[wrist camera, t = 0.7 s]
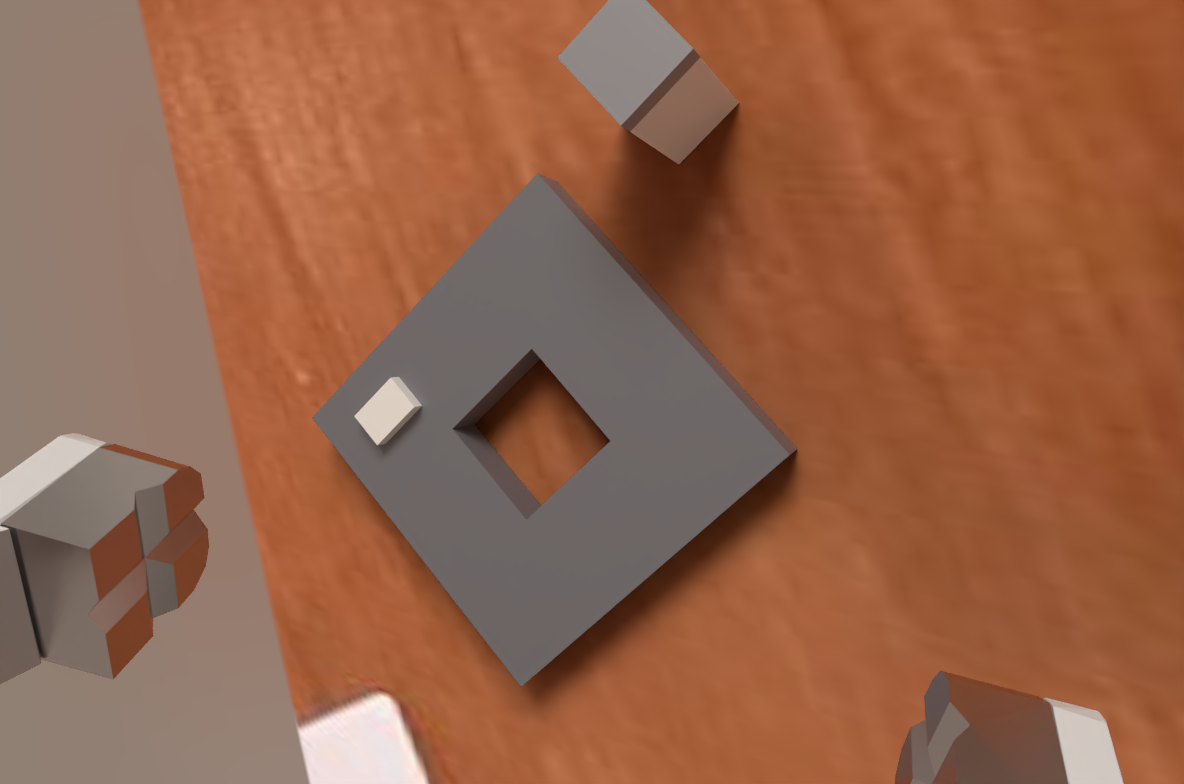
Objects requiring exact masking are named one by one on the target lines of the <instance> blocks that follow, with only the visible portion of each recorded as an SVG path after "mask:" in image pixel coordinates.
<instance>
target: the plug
mask: <svg viewBox="0 0 1184 784" xmlns="http://www.w3.org/2000/svg"><path fill="white" fill-rule="evenodd" d="M558 59H559V60H560V61H561V62H562V63H563V64H564V65H565V66H566V67H567V68H568V69H569V71H570V72H571V73H572V74H573V75H574V76H575V77H576V78H577V79H578V80H579V81H580V82H581V83H582V85H583V86H584V87H585V88H586V89H587V90H588V91H589V92H590V93H591V94H592V95H593V96H594V97H595V98H596V100H597V101H598V102H599V103H600V104H601V105H602V106H603V107H604V108H605V109H606V110H607V111H608V112H609V113H610V115H611V116H612V117H613V118H614V119H615V120H616V121H617V122H618V123H619V124H620V125H621V126H622V127H624V128H625V129H627V130H628V131H629V132H631V133H632V134H634V135H635V136H637V137H638V138H640V139H641V140H643V141H644V142H646V143H647V144H649V145H650V146H652V147H653V148H655V149H656V150H658V151H659V152H661V153H662V154H664V155H665V156H667V157H668V158H670V159H671V160H673V161H674V162H676V163H677V164H680V163H681V162H682V161H683V160H684V159H685V158H686V157H687V156H688V155H689V154H690V153H691V152H692V151H693V150H694V149H695V148H696V147H697V146H698V145H699V144H700V142H701V141H702V140H703V139H704V138H705V137H706V136H707V135H708V134H709V133H710V132H711V131H712V130H713V129H714V128H715V127H716V126H717V125H718V124H719V123H720V122H721V121H722V120H723V119H724V118H725V117H726V116H727V115H728V114H729V113H730V112H731V111H732V110H733V109H734V108H735V107H736V106H737V105H738V104H739V102H738V101H737V100H736V99H735V97H734V96H733V95H732V94H731V93H730V91H729V90H728V89H727V88H726V87H725V86H724V84H723V83H722V82H721V81H720V80H719V78H718V77H717V76H716V75H715V74H714V73H713V71H712V70H711V69H710V68H709V67H708V66H707V64H706V63H705V62H704V61H703V60H702V58H701V57H700V56H699V55H698V54H697V53H696V51H695V50H694V49H693V48H692V47H691V46H690V45H689V44H688V43H687V42H686V41H685V40H684V39H683V38H682V37H681V36H680V35H679V34H678V33H677V32H676V31H675V29H674V28H673V27H672V26H671V25H670V24H669V23H668V22H667V21H666V20H665V19H664V18H663V17H662V16H661V15H660V14H659V13H658V12H657V11H656V10H655V9H654V8H653V7H652V6H651V5H650V4H649V3H648V2H647V1H646V0H608V1H607V3H606V4H605V5H604V6H603V7H602V8H601V9H600V10H599V12H598V13H597V14H596V15H595V16H594V17H593V18H592V19H591V21H590V22H589V23H588V24H587V25H586V26H585V27H584V28H583V30H582V31H581V32H580V33H579V34H578V35H577V36H576V37H575V39H574V40H573V41H572V42H571V43H570V44H569V45H568V46H567V48H566V49H565V50H564V51H563V52H562V53H561V54H560V56H559V57H558Z"/></svg>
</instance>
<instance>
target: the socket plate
mask: <svg viewBox="0 0 1184 784" xmlns="http://www.w3.org/2000/svg"><path fill="white" fill-rule="evenodd" d="M540 359H541V360H542V361H543V362H544V364H545V365H546V366H547V367H548V368H549V369H550V371H551V372H552V373H553V374H554V375H555V377H556V378H557V379H558V380H559V381H560V382H561V384H562V385H563V386H564V387H565V388H566V389H567V391H568V392H569V393H570V394H571V395H572V396H573V398H574V399H575V400H576V401H577V402H578V404H579V405H580V406H581V407H582V408H583V409H584V411H585V412H586V413H587V414H588V415H589V416H590V418H591V419H592V420H593V421H594V422H595V423H596V425H597V426H598V427H599V428H600V429H601V431H602V432H603V433H604V434H605V435H606V436H607V438H608V439H609V440H610V442H609V443H608V444H607V445H606V446H605V447H604V448H602V449H601V450H600V451H599V452H598V453H597V454H596V455H595V456H594V457H593V458H592V459H591V460H590V461H589V462H588V463H586V464H585V465H584V466H583V467H582V468H581V469H580V470H579V471H578V472H577V473H576V474H575V475H574V476H573V477H571V478H570V479H569V480H568V481H567V482H566V483H565V484H564V485H563V486H562V487H561V488H560V489H559V490H558V491H557V492H555V493H554V494H553V495H552V496H551V497H550V498H549V499H548V500H547V501H546V502H545V503H544V504H543V505H542V506H541V505H540V504H539V503H538V501H537V500H536V499H535V498H534V496H533V495H532V494H531V493H530V492H529V490H528V489H527V488H526V487H525V485H524V484H523V483H522V482H521V481H520V479H519V478H518V477H517V476H516V474H515V473H514V472H513V471H512V470H511V468H510V467H509V466H508V465H507V463H506V462H505V461H504V460H503V459H502V457H501V456H500V455H499V454H498V452H497V451H496V450H495V449H494V448H493V446H492V445H491V444H490V443H489V441H488V440H487V439H486V438H485V437H484V435H483V434H482V433H481V432H480V430H479V429H478V428H477V427H476V426H475V424H476V423H477V422H478V421H479V420H480V419H481V418H482V417H483V416H484V415H485V414H486V413H487V412H488V411H489V410H490V409H491V408H492V407H493V406H494V405H495V404H496V403H497V402H498V401H499V400H500V399H501V398H502V397H503V396H504V395H505V394H506V393H507V392H508V391H509V390H510V389H511V388H512V387H513V386H514V385H515V384H516V383H517V382H518V381H519V380H520V379H521V378H522V377H523V376H524V375H525V374H526V373H527V372H528V371H529V370H530V369H531V368H532V367H533V366H534V365H535V364H536V363H537V362H538V361H539V360H540ZM312 419H313V420H314V421H315V422H316V424H317V425H318V426H319V428H320V429H321V430H322V431H323V433H324V434H325V435H326V437H327V438H328V439H329V440H330V442H331V443H332V444H333V446H334V447H335V448H336V449H337V451H338V452H339V453H340V455H341V456H342V457H343V458H344V460H345V461H346V462H347V464H348V465H349V466H350V467H351V469H352V470H353V471H354V473H355V474H356V475H357V477H358V478H359V479H360V480H361V482H362V483H363V484H364V486H365V487H366V488H367V489H368V491H369V492H370V493H371V495H372V496H373V497H374V498H375V500H376V501H377V502H378V504H379V505H380V506H381V507H382V509H383V510H384V511H385V513H386V514H387V515H388V516H389V518H390V519H391V520H392V522H393V523H394V524H395V525H396V527H397V528H398V529H399V531H400V532H401V533H402V534H403V536H404V537H405V538H406V540H407V541H408V542H409V543H410V545H411V546H412V547H413V549H414V550H415V551H416V552H417V554H418V555H419V556H420V558H421V559H422V560H423V561H424V563H425V564H426V565H427V567H428V568H429V569H430V571H431V572H432V573H433V574H434V576H435V577H436V578H437V580H438V581H439V582H440V583H441V585H442V586H443V587H444V589H445V590H446V591H447V592H448V594H449V595H450V596H451V598H452V599H453V600H454V601H455V603H456V604H457V605H458V607H459V608H460V609H461V610H462V612H463V613H464V614H465V616H466V617H467V618H468V619H469V621H470V622H471V623H472V625H473V626H474V627H475V628H476V630H477V631H478V632H479V634H480V635H481V636H482V637H483V639H484V640H485V641H486V643H487V644H488V645H489V646H490V648H491V649H492V650H493V652H494V653H495V654H496V655H497V657H498V658H499V659H500V661H501V662H502V663H503V664H504V666H505V667H506V668H507V670H508V671H509V672H510V674H511V675H512V676H513V677H514V679H515V680H516V681H517V683H518V684H519V685H520V686H521V687H522V686H523V685H524V684H525V683H526V682H528V681H529V680H530V679H531V678H532V677H534V676H535V675H536V674H537V673H539V672H540V671H541V670H542V669H543V668H544V667H546V666H547V665H548V664H549V663H550V662H551V661H553V660H554V659H555V658H556V657H557V656H558V655H559V654H561V653H562V652H563V651H564V650H565V649H566V648H568V647H569V646H570V645H571V644H572V643H573V642H575V641H576V640H577V639H578V638H579V637H580V636H581V635H583V634H584V633H585V632H586V631H587V630H588V629H590V628H591V627H592V626H593V625H594V624H595V623H597V622H598V621H599V620H600V619H601V618H602V617H603V616H605V615H606V614H607V613H608V612H609V611H610V610H612V609H613V608H614V607H615V606H616V605H617V604H618V603H620V602H621V601H622V600H623V599H624V598H625V597H627V596H628V595H629V594H630V593H631V592H632V591H634V590H635V589H636V588H637V587H638V586H639V585H640V584H642V583H643V582H644V581H645V580H646V579H647V578H649V577H650V576H651V575H652V574H653V573H654V572H656V571H657V570H658V569H659V568H660V567H661V566H662V565H664V564H665V563H666V562H667V561H668V560H669V559H671V558H672V557H673V556H674V555H675V554H676V553H678V552H679V551H680V550H681V549H682V548H683V547H684V546H686V545H687V544H688V543H689V542H690V541H691V540H693V539H694V538H695V537H696V536H697V535H698V534H700V533H701V532H702V531H703V530H704V529H705V528H706V527H708V526H709V525H710V524H711V523H712V522H713V521H715V520H716V519H717V518H718V517H719V516H720V515H722V514H723V513H724V512H725V511H726V510H727V509H728V508H730V507H731V506H732V505H733V504H734V503H735V502H737V501H738V500H739V499H740V498H741V497H742V496H744V495H745V494H746V493H747V492H748V491H749V490H750V489H752V488H753V487H754V486H755V485H756V484H757V483H759V482H760V481H761V480H762V479H763V478H764V477H766V476H767V475H768V474H769V473H770V472H771V471H772V470H774V469H775V468H776V467H777V466H778V465H779V464H781V463H782V462H783V461H784V460H785V459H786V458H788V457H789V456H790V455H791V454H792V453H793V452H794V451H796V450H797V448H796V447H795V446H794V445H793V444H792V443H791V442H790V440H789V439H788V438H787V437H786V436H785V435H784V434H783V433H782V432H781V430H780V429H779V428H778V427H777V426H776V425H775V424H774V423H773V422H772V420H771V419H770V418H769V417H768V416H767V415H766V414H765V413H764V411H763V410H762V409H761V408H760V407H759V406H758V405H757V404H756V403H755V401H754V400H753V399H752V398H751V397H750V396H749V395H748V394H747V393H746V391H745V390H744V389H743V388H742V387H741V386H740V385H739V384H738V383H737V381H736V380H735V379H734V378H733V377H732V376H731V375H730V374H729V373H728V371H727V370H726V369H725V368H724V367H723V366H722V365H721V364H720V363H719V361H718V360H717V359H716V358H715V357H714V356H713V355H712V354H711V353H710V351H709V350H708V349H707V348H706V347H705V346H704V345H703V344H702V343H701V341H700V340H699V339H698V338H697V337H696V336H695V335H694V334H693V333H692V331H691V330H690V329H689V328H688V327H687V326H686V325H685V324H684V323H683V321H682V320H681V319H680V318H679V317H678V316H677V315H676V314H675V313H674V311H673V310H672V309H671V308H670V307H669V306H668V305H667V304H666V303H665V301H664V300H663V299H662V298H661V297H660V296H659V295H658V294H657V292H656V291H655V290H654V289H653V288H652V287H651V286H650V285H649V284H648V282H647V281H646V280H645V279H644V278H643V277H642V276H641V275H640V274H639V272H638V271H637V270H636V269H635V268H634V267H633V266H632V265H631V264H630V262H629V261H628V260H627V259H626V258H625V257H624V256H623V255H622V254H621V252H620V251H619V250H618V249H617V248H616V247H615V246H614V245H613V244H612V242H611V241H610V240H609V239H608V238H607V237H606V236H605V235H604V234H603V232H602V231H601V230H600V229H599V228H598V227H597V226H596V225H595V224H594V222H593V221H592V220H591V219H590V218H589V217H588V216H587V215H586V214H585V212H584V211H583V210H582V209H581V208H580V207H579V206H578V205H577V204H576V202H575V201H574V200H573V199H572V198H571V197H570V196H569V195H568V194H567V192H566V191H565V190H564V189H563V188H562V187H561V186H560V185H559V184H558V182H557V181H554V180H552V179H549V178H547V177H545V176H542V175H540V174H536V176H535V177H534V178H533V179H532V180H531V181H530V182H529V183H528V184H527V185H526V186H525V187H524V189H523V190H522V191H521V192H520V193H519V194H518V195H517V196H516V197H515V198H514V199H513V200H512V202H511V203H510V204H509V205H508V206H507V207H506V208H505V209H504V210H503V211H502V212H501V213H500V215H499V216H498V217H497V218H496V219H495V220H494V221H493V222H492V223H491V224H490V225H489V227H488V228H487V229H486V230H485V231H484V232H483V233H482V234H481V235H480V236H479V237H478V238H477V240H476V241H475V242H474V243H473V244H472V245H471V246H470V247H469V248H468V249H467V250H466V251H465V253H464V254H463V255H462V256H461V257H460V258H459V259H458V260H457V261H456V262H455V263H454V264H453V266H452V267H451V268H450V269H449V270H448V271H447V272H446V273H445V274H444V275H443V276H442V277H441V279H440V280H439V281H438V282H437V283H436V284H435V285H434V286H433V287H432V288H431V289H430V290H429V292H428V293H427V294H426V295H425V296H424V297H423V298H422V299H421V300H420V301H419V302H418V303H417V305H416V306H415V307H414V308H413V309H412V310H411V311H410V312H409V313H408V314H407V315H406V316H405V318H404V319H403V320H402V321H401V322H400V323H399V324H398V325H397V326H396V327H395V328H394V329H393V331H392V332H391V333H390V334H389V335H388V336H387V337H386V338H385V339H384V340H383V341H382V342H381V344H380V345H379V346H378V347H377V348H376V349H375V350H374V351H373V352H372V353H371V354H370V356H369V357H368V358H367V359H366V360H365V361H364V362H363V363H362V364H361V365H360V366H359V367H358V369H357V370H356V371H355V372H354V373H353V374H352V375H351V376H350V377H349V378H348V379H347V380H346V382H345V383H344V384H343V385H342V386H341V387H340V388H339V389H338V390H337V391H336V392H335V393H334V395H333V396H332V397H331V398H330V399H329V400H328V401H327V402H326V403H325V404H324V405H323V406H322V408H321V409H320V410H319V411H318V412H317V413H316V414H315V415H314V416H313V417H312Z"/></svg>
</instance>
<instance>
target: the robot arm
mask: <svg viewBox="0 0 1184 784" xmlns="http://www.w3.org/2000/svg"><path fill="white" fill-rule="evenodd" d="M203 499H204V492H203V485H202V478H201V474H200V473H199V472H197V471H196V470H194V469H193V468H191V467H190V466H186V465H183V464H179V463H176V462H173V461H170V460H166V459H163V458H160V457H156V456H153V455H150V454H146V453H143V452H140V451H136V450H133V449H129V448H126V447H123V446H120V445H116V444H109V443H106V442H103V441H99V440H96V439H93V438H90V437H86V436H83V435H80V434H77V433H74V434H68V435H62V436H59V437H58V438H56V439H55V440H54V441H52V442H51V443H49V444H48V445H46V446H45V447H44V448H42V449H41V450H40V451H38V452H37V453H35V454H34V455H33V456H31V457H30V458H28V459H27V460H26V461H24V462H23V463H21V464H20V465H19V466H17V467H16V468H14V469H13V470H12V471H10V472H9V473H7V474H6V475H5V476H3V477H2V478H0V684H2V683H4V682H5V681H8V680H10V679H12V678H14V677H16V676H17V675H20V674H22V673H23V672H25V671H27V670H29V669H31V668H33V667H35V666H37V665H39V664H41V659H42V660H45V661H49V662H53V663H57V664H60V665H63V666H67V667H70V668H74V669H78V670H81V671H85V672H89V673H92V674H96V675H99V676H103V677H106V678H110V679H114V678H115V677H116V676H117V675H118V674H119V673H120V671H121V670H122V669H123V668H124V667H125V666H126V665H127V664H128V663H129V662H130V660H131V659H132V658H133V657H134V656H135V655H136V654H137V653H138V652H139V651H140V650H141V649H142V648H143V646H144V645H145V644H146V643H147V642H148V641H149V640H150V639H151V638H152V637H153V618H155V617H157V616H160V615H162V614H165V613H167V612H170V611H172V610H175V609H177V608H179V607H180V606H181V604H182V603H183V602H184V601H185V600H186V599H187V598H188V596H189V595H190V594H191V593H192V592H193V591H194V589H195V587H196V585H197V583H198V581H199V579H200V577H201V575H202V573H203V570H204V568H205V566H206V561H207V555H208V549H209V541H208V529H207V528H206V526H205V525H204V523H203V522H202V521H201V519H200V518H199V517H198V515H197V514H196V512H195V511H194V509H195V508H196V507H197V505H198V504H199V503H200V502H201V501H202V500H203ZM924 699H925V716H926V720H925V721H923V722H920V723H918V724H916V725H914V726H912V727H911V728H910V730H909V733H908V735H907V738H906V740H905V743H904V745H903V748H902V750H901V754H900V758H899V763H898V767H897V771H896V776H895V784H1124V782H1123V778H1122V775H1121V771H1120V768H1119V764H1118V761H1117V757H1116V754H1115V750H1114V747H1113V743H1112V740H1111V736H1110V733H1109V729H1108V726H1107V722H1106V720H1105V719H1104V717H1103V716H1102V715H1101V714H1100V713H1099V711H1096V710H1092V709H1088V708H1084V707H1080V706H1076V705H1072V704H1068V703H1064V702H1060V701H1056V700H1053V699H1049V698H1043V699H1042V698H1040V697H1038V696H1034V695H1030V694H1027V693H1023V692H1019V691H1015V690H1012V689H1008V688H1004V687H1000V686H996V685H993V684H989V683H985V682H981V681H978V680H974V679H970V678H966V677H962V676H959V675H955V674H951V673H947V672H943V671H940V672H939V673H938V674H937V675H936V676H935V677H934V678H933V680H932V682H931V684H930V686H929V688H928V690H927V692H926V695H925V697H924Z"/></svg>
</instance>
